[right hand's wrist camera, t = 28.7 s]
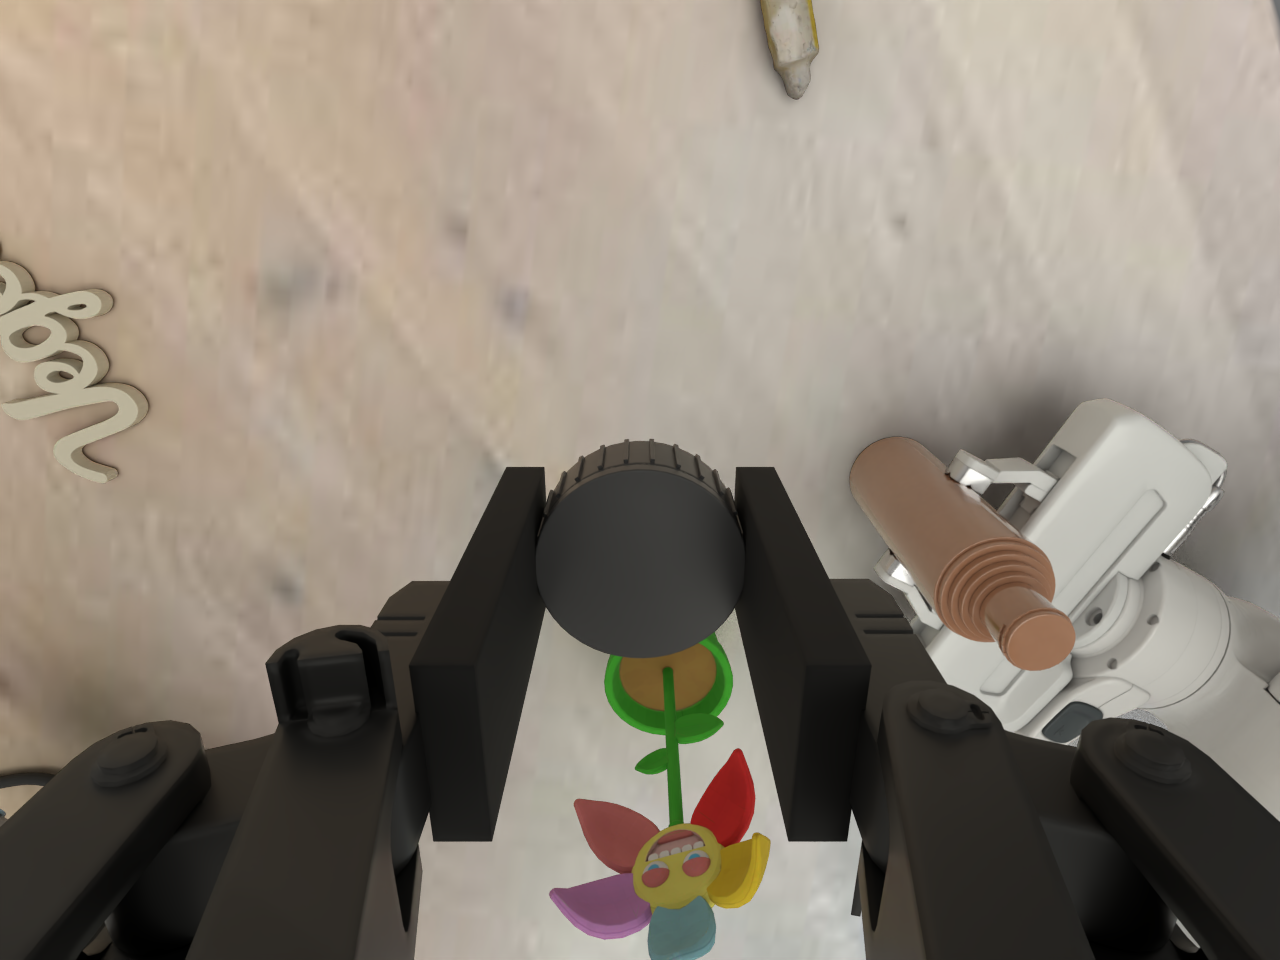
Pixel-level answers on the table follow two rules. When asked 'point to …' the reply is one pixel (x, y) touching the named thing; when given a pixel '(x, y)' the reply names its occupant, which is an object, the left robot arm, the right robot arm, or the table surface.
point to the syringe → (791, 41)
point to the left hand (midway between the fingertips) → (918, 515)
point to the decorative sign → (64, 365)
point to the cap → (640, 550)
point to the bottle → (962, 554)
